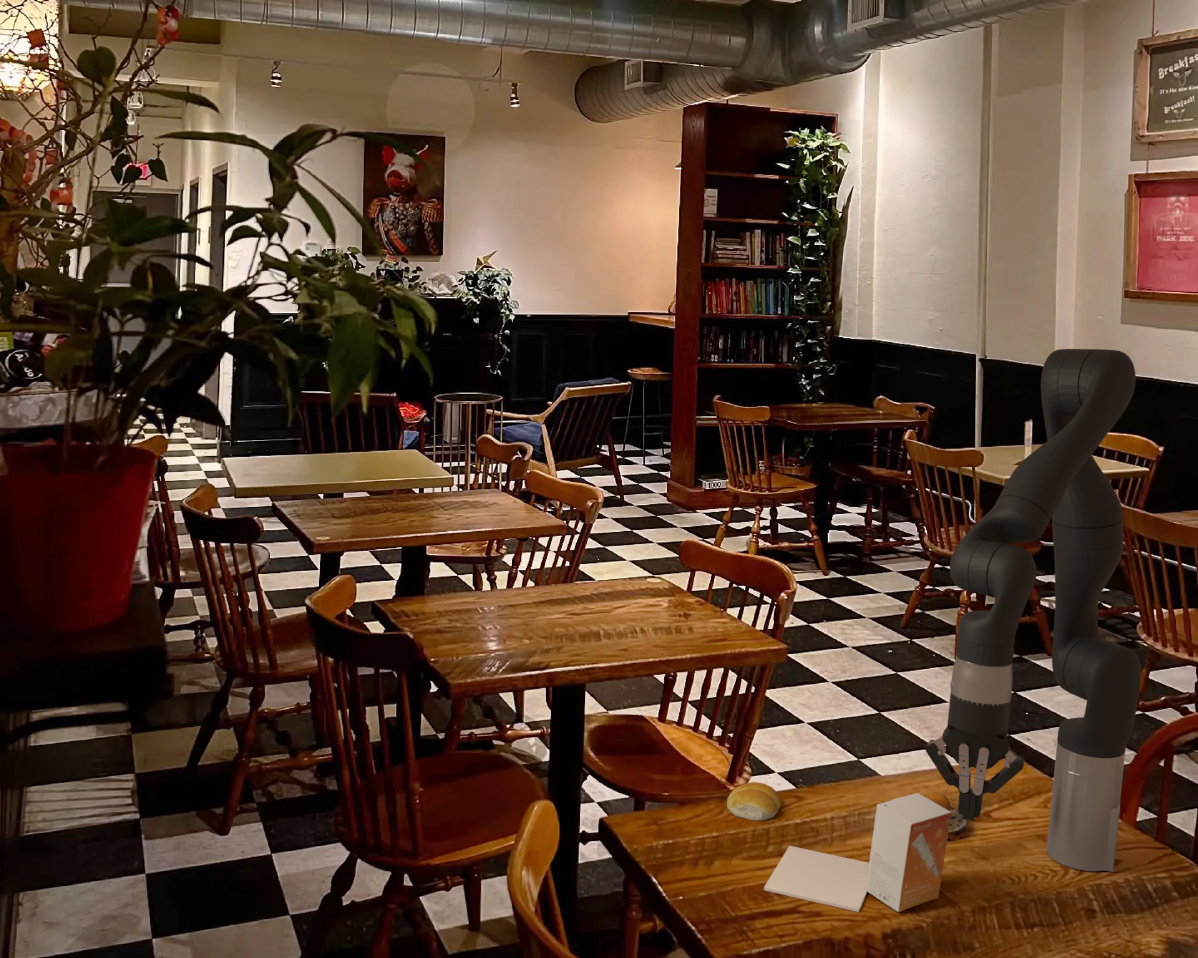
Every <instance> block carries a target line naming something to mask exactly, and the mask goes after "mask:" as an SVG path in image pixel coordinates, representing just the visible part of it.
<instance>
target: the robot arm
mask: <svg viewBox="0 0 1198 958" xmlns="http://www.w3.org/2000/svg"><path fill="white" fill-rule="evenodd" d="M1136 379H1137V376H1136V370H1135V365H1134V362H1133V360H1132V359H1131V357H1130V356H1129V355H1128V354H1126V353H1125V352H1123V351H1120V350H1118V349H1115V350H1114V349H1106V348H1103V349H1100V348H1096V349H1095V348H1062V349H1056V350H1054V351H1052V352H1051V353H1050V354H1049V355H1048V356H1047V357H1046V359H1045V361H1044V363H1043V367H1042V371H1041V378H1040V394H1041V405H1042V412H1043V419H1044V426H1045V432H1046V439H1047V440H1046V442H1045V443H1043V444H1041V445H1040V446H1039V447H1038V448H1036V449H1035V450H1034V451H1032V452H1031V453H1030V454H1029V455H1027V457H1025V458H1024V459H1023V460H1022V461H1021V462H1020V463H1019V464H1018V465H1017V467H1016V468H1015V469H1014V470H1013V471H1012V473H1011V475H1010V476H1009V478H1008V480H1007V481H1006V483H1005V485H1004V486H1003V489H1002V491H1001V492H1000V495H999V496H998V498H997V500H996V502H995V504H994V505H993V507H992V508H991V509H990V510H989V511H988V512H987V513H986V514H985V515H984V516H983V517H982V518H981V519H980V520H978V522H977V523H976V524H975V525H974V526H973V527H972V528H971V529H970V530H969V531H968V532H967V533H966V534H965V535H964V536H963V538H962V539H961V540H959V542H958V544H957V545H956V547H955V549H954V550H953V552H952V555H951V558H950V562H949V573H950V576H951V580H952V582H953V583H954V585H955V586H957V587H958V588H959V589H960V590H964V591H965V592H970V593H974V594H978V595H983V596H987V597H991V598H994V603H993V606H992V608H991V609H990V610H972V611H967V612H966V613H964V614H962V616H960V618H959V619H960V620H959V624H958V633H957V642H956V643H957V644H956V655H955V661H954V664H953V668H952V674H951V681H950V686H949V687H950V695H949V705H948V713H947V714H948V716H947V717H948V718H947V725H946V728H944V731H943V733H942V736H940V737H939V738H936V739H930V740H929V741H928V742H927V744H926V746H925V753H926V755H928V757H929V758H930V760H931V762H932V763H933V764H934V766H935V768H936V769H937V770H938V773H939V774H940V775H941V777H942V778H943V779H944V782H945V783H946V784H947V785H948V786H949V787H951V786H953V787H955V788H957V789H958V792H959V797H958V802H957V805H958V806H957V810H958V812H959V814H962V815H963V817H962V819H965V820H968V821H971V822H974V821H975V819H976V818H977V819H978V818H979V817H980V815H981V813H982V805H983V797H984V795H985V794H993V795H994V794H995V793H997V792H998V791H999V790H1001V789H1002V788H1003V787H1004V786H1005V785H1006V784H1007V783H1008V782H1010V781H1011V780H1012V779H1013V778H1014V777H1016V775H1018V774H1019V773H1020V772H1022V770H1023V769H1024V766H1025V762H1026V760H1025V757H1024V756H1022V755H1019V754H1017V753H1016V752H1015V751H1014V750H1013V749H1012V748H1011V742H1010V739H1009V736H1008V731H1009V730H1008V729H1009V720H1010V712H1011V711H1010V710H1011V709H1010V708H1011V702H1012V695H1013V694H1012V693H1013V691H1012V690H1013V681H1014V680H1013V678H1014V675H1013V660H1014V651H1015V641H1016V633H1017V629H1018V627H1019V624H1020V621H1021V618H1022V616H1023V613H1024V609H1025V607H1026V605H1027V602H1028V600H1029V599H1030V595H1031V594H1032V592H1033V588H1034V586H1035V584H1036V580H1037V565H1036V562H1035V558H1034V557H1033V554H1032V553H1031V552H1030V551H1029V550H1027V549H1026V548H1024V547H1022V546H1019V545H1018V546H1017V545H1013V544H1020V543H1021V544H1023V543H1031V542H1035V541H1037V540H1039V539H1040V538H1041V537H1042V535H1044V533H1045V531H1046V529H1047V527H1048V526H1049V524H1050V521H1051V522H1052V523H1051V524H1052V543H1053V554H1054V591H1055V592H1054V593H1055V595H1054V597H1055V599H1054V600H1055V601H1054V621H1053V622H1054V623H1053V633H1052V647H1051V649H1052V652H1051V665H1052V666H1051V669H1052V674H1053V677H1054V681H1055V682H1056V683H1057V684H1058V687H1060V688H1061V689H1062V690H1064V691H1065V692H1067V693H1069V694H1071V695H1073V696H1075V697H1078V698H1080V699H1082V700H1085V701H1086V705H1085V710H1084V715H1083V716H1082V717H1071V718H1068V719H1065V720H1063V721H1061V723H1060V724H1059V726H1058V731H1057V737H1056V738H1057V741H1056V749H1055V751H1056V752H1055V759H1054V760H1055V762H1054V773H1053V781H1052V791H1051V802H1050V810H1049V811H1050V813H1049V823H1048V833H1047V839H1046V840H1047V843H1046V853H1047V855H1048V856H1049V857H1050V858H1051V859H1052V860H1053V861H1055V862H1057V863H1058V864H1061V865H1063V866H1065V867H1069V868H1071V869H1075V870H1078V871H1079V870H1081V871H1087V872H1101V871H1106V872H1112V873H1113V872H1114V870H1115V869H1114V868H1115V860H1116V850H1117V840H1118V832H1119V824H1120V823H1119V822H1120V814H1121V813H1120V812H1121V796H1122V795H1121V793H1122V786H1123V785H1122V783H1123V774H1124V769H1125V768H1124V765H1125V758H1126V757H1125V756H1126V749H1127V743H1128V741H1129V739H1130V737H1131V734H1132V733H1133V730H1134V727H1135V719H1136V715H1137V714H1136V713H1137V708H1138V702H1139V696H1140V690H1141V684H1142V668H1141V662H1140V659H1139V657H1138V655H1137V654H1136V653H1135V652H1134V651H1133V650H1132V649H1130V648H1129V647H1128V646H1124V645H1121V644H1119V643H1116V642H1113V641H1111V640H1108V639H1105V638H1102V637H1101V636H1100V633H1099V632H1100V631H1099V622H1098V621H1099V620H1098V619H1099V618H1098V614H1099V613H1098V611H1099V610H1098V609H1099V608H1098V607H1099V601H1100V597H1101V595H1102V592H1103V591H1104V589H1105V587H1106V585H1107V583H1108V582H1109V581H1110V579H1111V577H1112V576H1113V574H1114V572H1115V571H1116V569H1117V568H1118V566H1119V563H1120V562H1121V558H1122V555H1123V551H1124V526H1123V525H1124V521H1123V507H1122V504H1121V500H1120V499H1119V497H1118V495H1117V493H1116V491H1115V488H1113V486H1112V484H1111V483H1110V481H1109V480H1108V478H1107V477H1106V474H1104V472H1103V471H1102V468H1101V467H1100V466H1099V464H1098V463H1097V461H1096V460H1095V458H1094V456H1093V453H1094V452H1095V451H1096V450H1097V449H1098V447H1099V445H1100V444H1101V443H1102V442H1103V440H1104V439H1105V438H1106V436H1107V435H1108V434H1109V432H1110V431H1111V430H1112V428H1113V427H1114V426H1115V424H1117V422H1118V421H1119V420H1120V418H1121V416H1123V414H1124V413H1125V411H1126V409H1127V407H1128V406H1129V403H1130V402H1131V399H1132V398H1133V395H1134V392H1135V388H1136ZM946 748H947V749H946ZM947 750H948V752H949V753H950V754H951V756H952V758H953V760H954V761H955V762H956V763H957V764H958V773H957V772H956V770H955V768H954V767H953V765H952V764H951V762H950V760H949V759H948V757H947V756H946V755H945V754H946V752H947ZM1004 757H1005V759H1004V761H1003V766H1004V767H1003V768H1001V770H999V771H998V772H997V773H995V775H993V777H991V778H990V779H987V780H986V778H987V773H988V772H987V771H988V770H990V769H992V768H994V766H995V765H997V764H998V762H999V761H1001V760H1002V759H1003V758H1004ZM972 768H974V769H975V773H974V779H973V786H972V788H971V785H972Z"/></svg>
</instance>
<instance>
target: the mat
mask: <svg viewBox="0 0 1198 958" xmlns="http://www.w3.org/2000/svg"><path fill="white" fill-rule="evenodd" d="M868 867H869V861H868V862H866V861H862V860H857V859H852V858H849V857H848V858H847V857H844V856H839V855H834V854H829V853H825V852H821V851H816V850H813V849H812V850H811V849H808V848H807V849H805V848H802V847H797V846H793V845H789V846H788V847H787V849H786V850H785V853H784V854H783V855H782V858H781V859H780V861H779V862H778V864H777V866H776V867H775V869H774V871H773V872H772V873H771V875H770V877H769V878H768V880H767V881H766V883H765V885H764V887H763V891H766V892H770V893H774V894H779V895H783V896H788V897H792V898H797V899H801V900H805V901H809V902H812V903H813V902H814V903H818V904H822V905H826V906H832V907H835V908H840V909H844V910H849V911H853V912H856V913H859V912H860V910H861V908H862V905H863V903H864V901H865V899H866V896H867V894H868V893H869V892H868V891H866V890H865V889H866V882H867V874H868Z"/></svg>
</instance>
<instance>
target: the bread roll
mask: <svg viewBox="0 0 1198 958" xmlns="http://www.w3.org/2000/svg"><path fill="white" fill-rule="evenodd" d="M726 800H727V801H726V807H727V810H728V811H729V812H730V813H731V814H732V815H734V816H735V817H737V818H740V819H746V820H750V821H758V822H759V821H766V820H769V819H772V818H774V817H775V816H776V815H777V813H778V812H779V809H780V808H781V806H782V799H781V797H780V795H779V793H778V792H777V791H776V790H775V788H773V787H772V786H770V785H768V784H766V783H761V782H758V781H757V782H756V781H752V782H747V783H743V784H741V785H738V786H736V787H735V788H734V789H733V790H732V791H731V792H730V794H729V795H728V796H727V799H726Z"/></svg>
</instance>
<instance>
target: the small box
mask: <svg viewBox="0 0 1198 958" xmlns="http://www.w3.org/2000/svg"><path fill="white" fill-rule="evenodd" d="M875 810H876V811H875V817H874V824H873V833H872V839H871V846H870V854H869V861H868V863H869V867H868V874H867V882H866V889H865V890H866V891H868V892H867V893H869V894H870V895H872V896H874V897H875V898H876V899H878V900H880V902H882V903H884V904H885V905H887V906H888V907H890V908H891V909H893V910H894V911H896V912H897V913H901V912H903V911H905V910H908V909H911V908H913V907H916V906H919V905H922V904H923V903H927V902H930V901H932V900H936V899H938V898H939V894H940V887H941V880H942V876H943V875H942V874H943V871H944V870H943V868H944V862H945V857H946V849H947V843H948V839H947V838H948V831H949V825H950V818H951V812H950V811H948V810H947V809H945V808H943V807H941V806H940V805H938V804H936V803H934V802H933V801H931V800H929V799H928V798H926V796H924V795H922V794H920V793H919V792H915V793H912V794H910V795H909V794H908V795H904V796H899V797H896V798H893V799H891V800H888V801H885V802H880V803H878V804H876V809H875Z"/></svg>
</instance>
